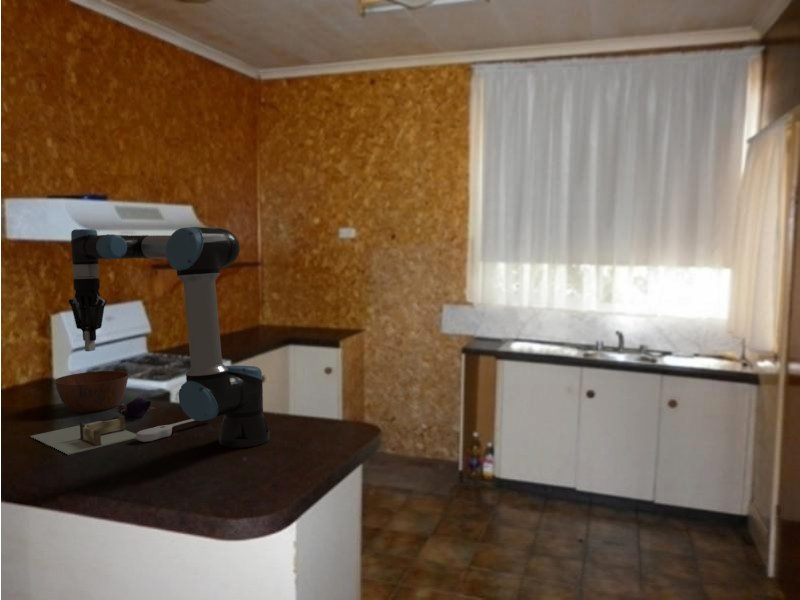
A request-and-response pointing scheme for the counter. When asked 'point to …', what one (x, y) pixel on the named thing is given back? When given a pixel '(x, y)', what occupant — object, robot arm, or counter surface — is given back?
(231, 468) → the counter surface
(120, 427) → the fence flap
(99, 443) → the fence fixed
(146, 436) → the spatula
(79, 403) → the bowl
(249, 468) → the counter surface
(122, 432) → the card
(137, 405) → the toy
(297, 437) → the counter surface
